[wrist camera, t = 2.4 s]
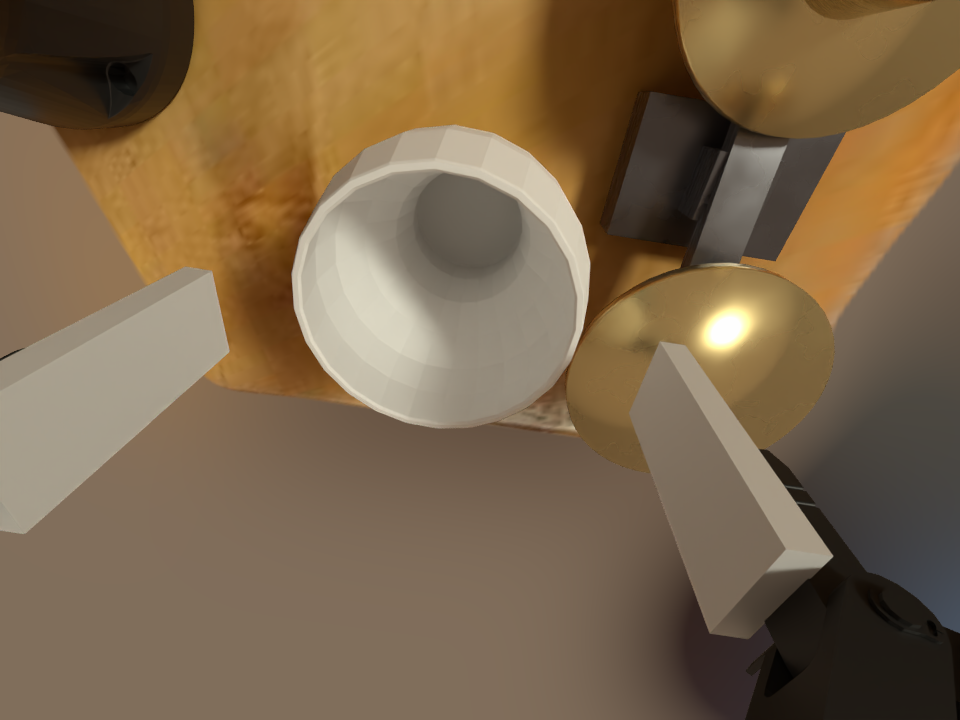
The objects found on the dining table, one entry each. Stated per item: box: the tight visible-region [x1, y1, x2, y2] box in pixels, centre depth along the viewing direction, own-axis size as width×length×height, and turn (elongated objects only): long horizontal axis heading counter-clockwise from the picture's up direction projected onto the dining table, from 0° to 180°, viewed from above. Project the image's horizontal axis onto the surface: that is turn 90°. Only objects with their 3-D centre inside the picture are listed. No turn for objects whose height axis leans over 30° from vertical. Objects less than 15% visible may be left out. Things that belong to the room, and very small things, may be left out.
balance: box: [565, 0, 960, 473], centre depth 19 cm, size 13×31×12 cm, turn 172°
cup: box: [291, 125, 590, 428], centre depth 20 cm, size 11×11×15 cm
